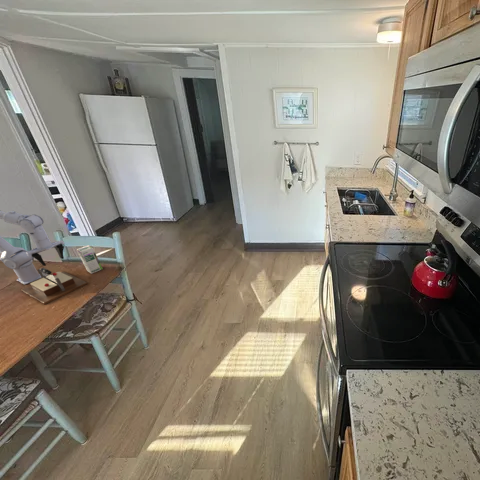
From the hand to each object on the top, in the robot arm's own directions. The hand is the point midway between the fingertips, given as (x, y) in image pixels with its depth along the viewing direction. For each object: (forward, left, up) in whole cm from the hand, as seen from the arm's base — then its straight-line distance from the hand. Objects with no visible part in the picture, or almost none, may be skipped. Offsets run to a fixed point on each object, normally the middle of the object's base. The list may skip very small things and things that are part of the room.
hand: (53, 261), depth 140 cm
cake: (+7, -6, -9) cm, 13 cm away
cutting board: (+7, -6, -10) cm, 14 cm away
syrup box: (+8, +12, -11) cm, 18 cm away
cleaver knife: (+7, -6, -6) cm, 11 cm away
